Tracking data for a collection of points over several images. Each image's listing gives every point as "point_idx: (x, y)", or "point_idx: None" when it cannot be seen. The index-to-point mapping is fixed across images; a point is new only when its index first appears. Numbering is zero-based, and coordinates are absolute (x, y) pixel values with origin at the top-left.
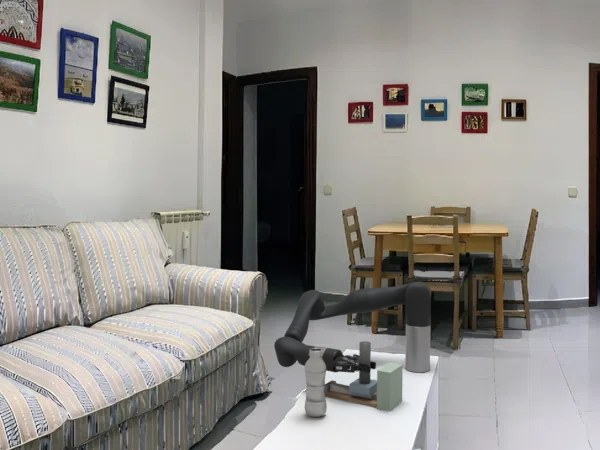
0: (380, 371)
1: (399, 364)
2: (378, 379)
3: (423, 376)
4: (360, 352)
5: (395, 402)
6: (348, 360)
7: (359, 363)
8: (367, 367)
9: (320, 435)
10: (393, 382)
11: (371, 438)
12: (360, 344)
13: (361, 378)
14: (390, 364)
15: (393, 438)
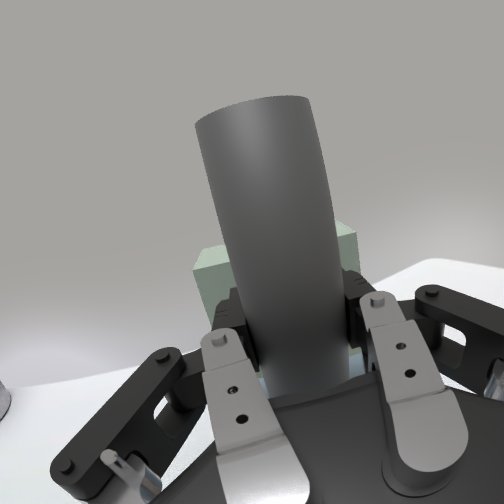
0: (349, 230)
1: (208, 250)
2: (358, 271)
3: (31, 395)
4: (328, 194)
5: None
6: (426, 346)
7: (337, 317)
8: (349, 270)
9: None
10: None
11: (480, 276)
12: (308, 108)
13: None
14: (227, 256)
15: (442, 269)
